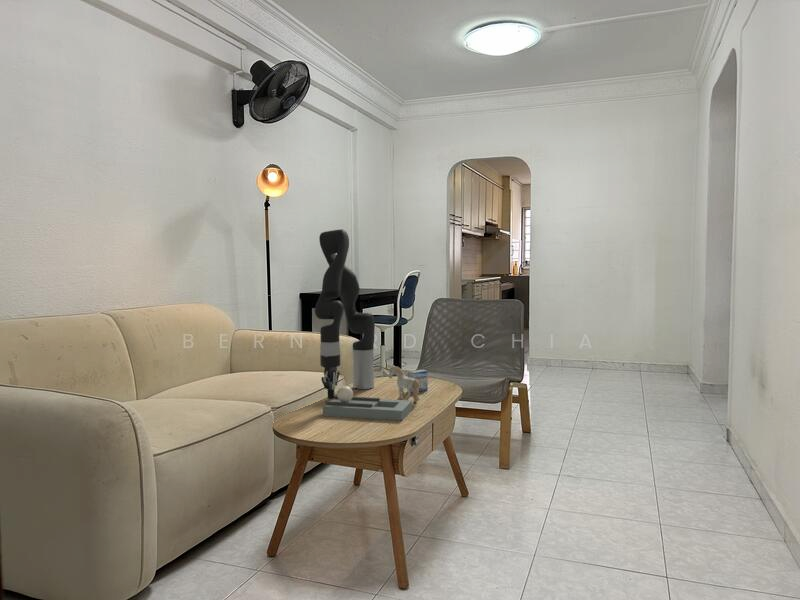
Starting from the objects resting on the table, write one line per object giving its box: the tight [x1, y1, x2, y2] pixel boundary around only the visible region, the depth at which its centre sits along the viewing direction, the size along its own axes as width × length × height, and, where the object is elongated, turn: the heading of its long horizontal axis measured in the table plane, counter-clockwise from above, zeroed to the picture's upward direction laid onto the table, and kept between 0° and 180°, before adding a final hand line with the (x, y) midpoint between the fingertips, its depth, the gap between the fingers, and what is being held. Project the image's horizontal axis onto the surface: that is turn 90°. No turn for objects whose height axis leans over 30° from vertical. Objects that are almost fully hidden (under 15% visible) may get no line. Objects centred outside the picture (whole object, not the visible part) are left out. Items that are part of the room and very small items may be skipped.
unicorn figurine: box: [379, 365, 420, 403], centre depth 235 cm, size 7×20×13 cm, turn 52°
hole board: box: [322, 395, 413, 421], centre depth 217 cm, size 15×30×4 cm, turn 75°
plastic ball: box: [336, 385, 354, 402], centre depth 219 cm, size 6×6×6 cm
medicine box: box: [407, 369, 429, 393], centre depth 252 cm, size 8×4×9 cm, turn 129°
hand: (331, 398), depth 221 cm, fingers closed
